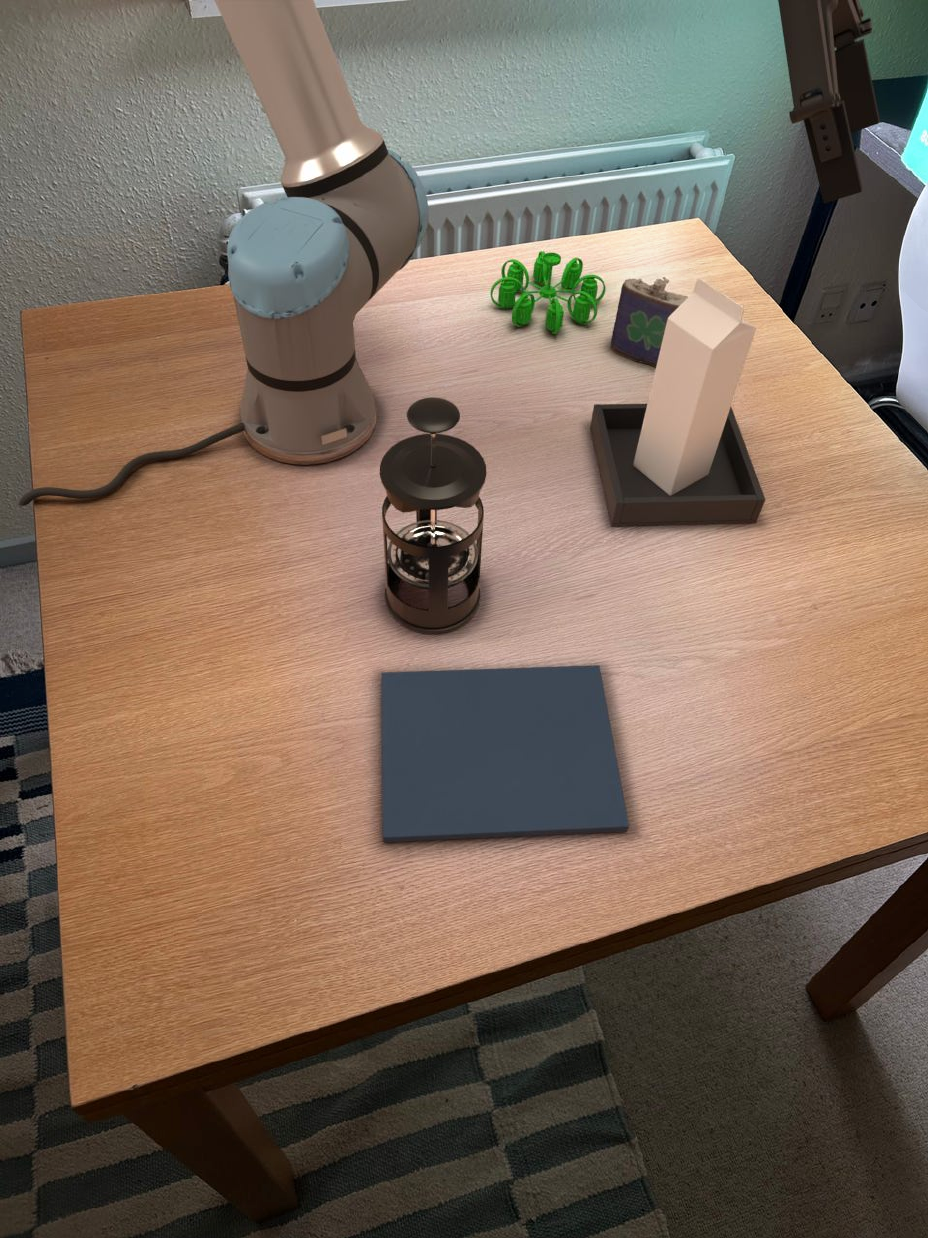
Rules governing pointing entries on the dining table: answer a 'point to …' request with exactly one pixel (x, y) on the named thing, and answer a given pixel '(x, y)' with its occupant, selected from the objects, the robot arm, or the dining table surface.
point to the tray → (643, 503)
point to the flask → (643, 319)
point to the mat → (498, 754)
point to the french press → (432, 519)
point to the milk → (693, 388)
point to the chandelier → (548, 291)
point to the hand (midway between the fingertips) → (853, 160)
